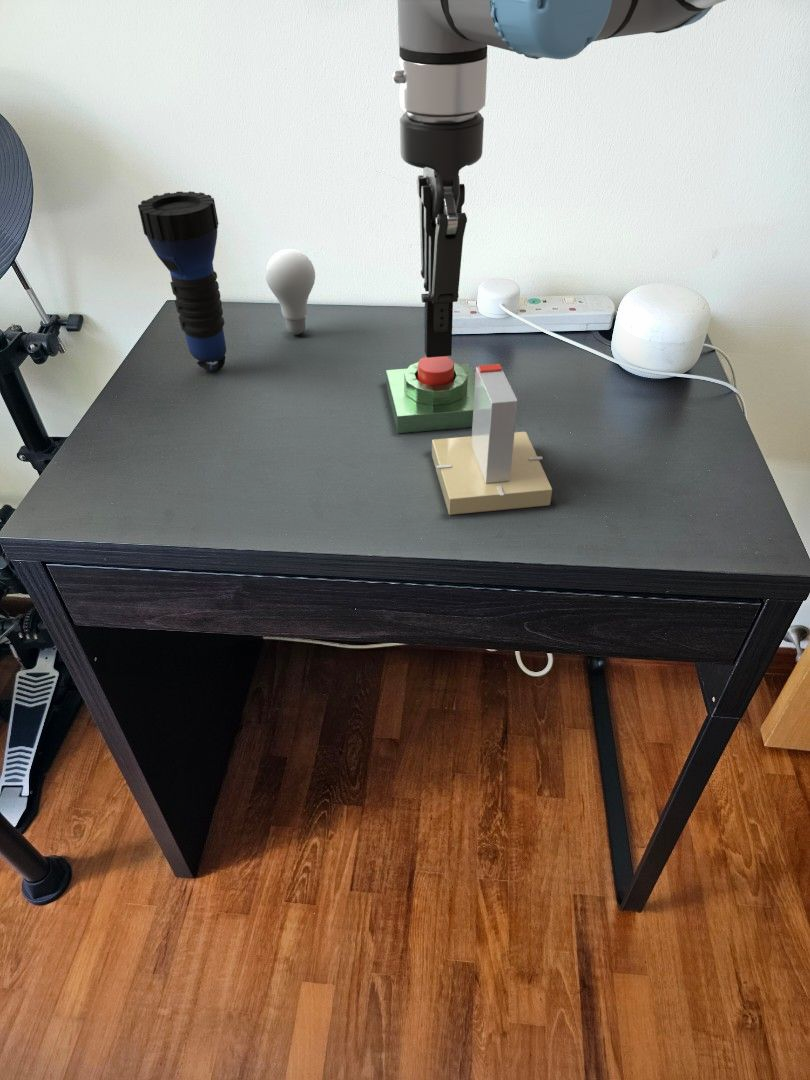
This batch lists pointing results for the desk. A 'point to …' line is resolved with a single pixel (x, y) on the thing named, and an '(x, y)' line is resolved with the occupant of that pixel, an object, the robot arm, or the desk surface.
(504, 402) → the tap handle
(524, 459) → the panel
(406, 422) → the control block
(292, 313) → the lightbulb
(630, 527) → the desk surface
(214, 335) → the flashlight
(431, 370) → the stop button
